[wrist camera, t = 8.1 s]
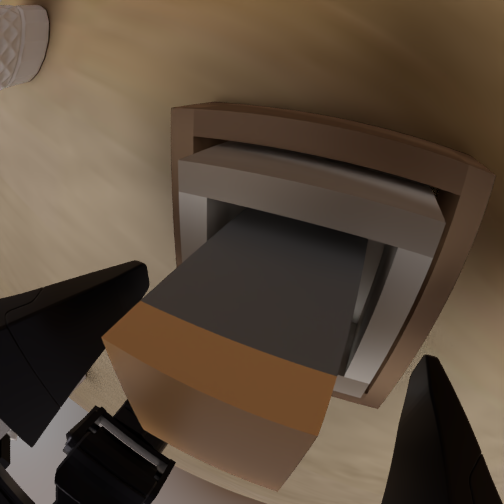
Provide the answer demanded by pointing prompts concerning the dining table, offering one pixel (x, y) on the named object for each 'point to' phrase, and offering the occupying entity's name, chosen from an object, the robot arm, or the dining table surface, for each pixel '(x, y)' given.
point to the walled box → (339, 214)
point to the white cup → (22, 42)
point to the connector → (243, 344)
